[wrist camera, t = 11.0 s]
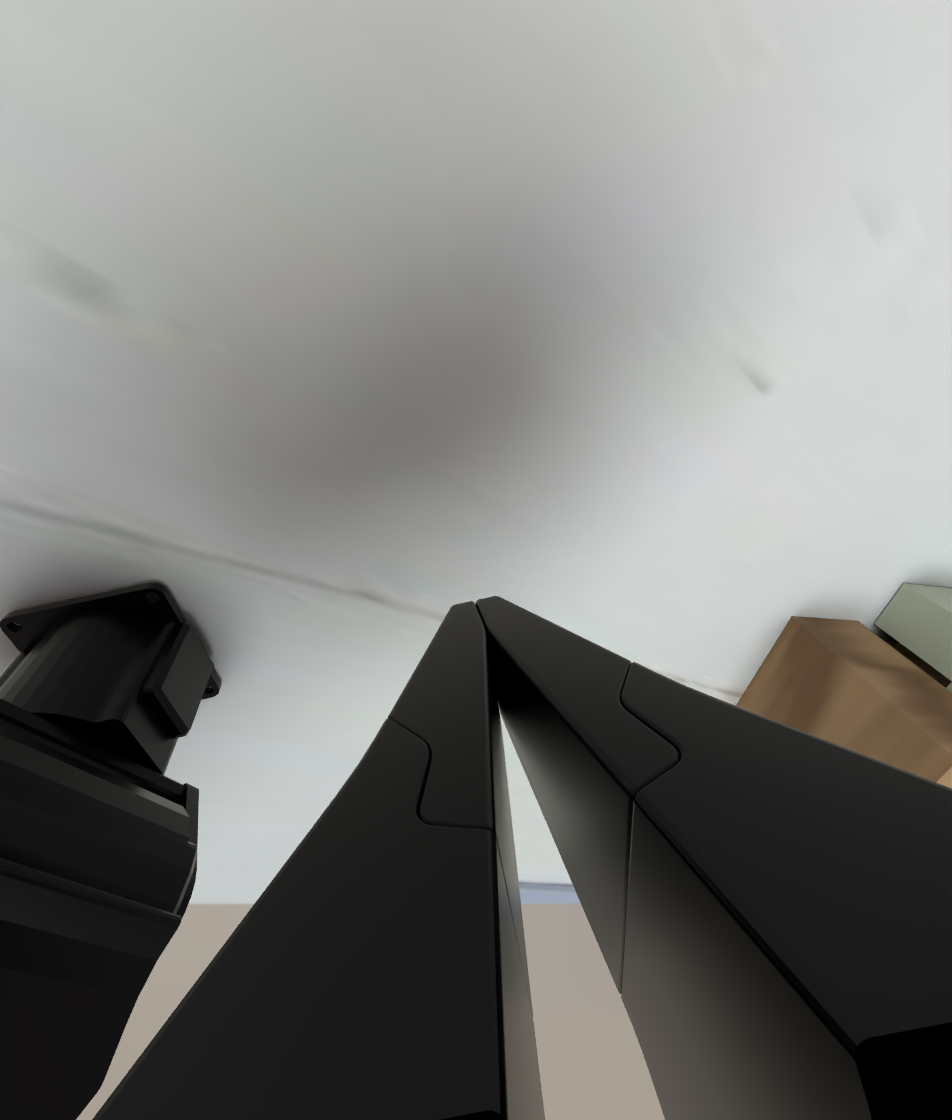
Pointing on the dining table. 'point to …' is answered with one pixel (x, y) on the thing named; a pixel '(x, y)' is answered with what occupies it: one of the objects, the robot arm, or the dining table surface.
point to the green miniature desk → (922, 624)
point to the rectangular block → (857, 695)
